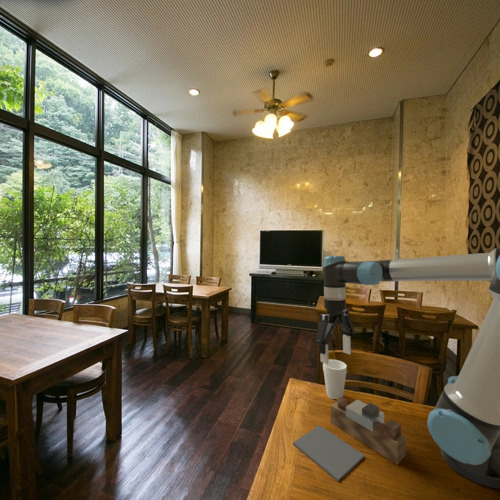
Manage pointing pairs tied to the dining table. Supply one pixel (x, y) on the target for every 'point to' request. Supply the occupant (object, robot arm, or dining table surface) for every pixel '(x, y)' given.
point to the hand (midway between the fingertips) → (336, 357)
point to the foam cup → (335, 378)
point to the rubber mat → (329, 452)
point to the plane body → (371, 433)
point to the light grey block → (365, 414)
